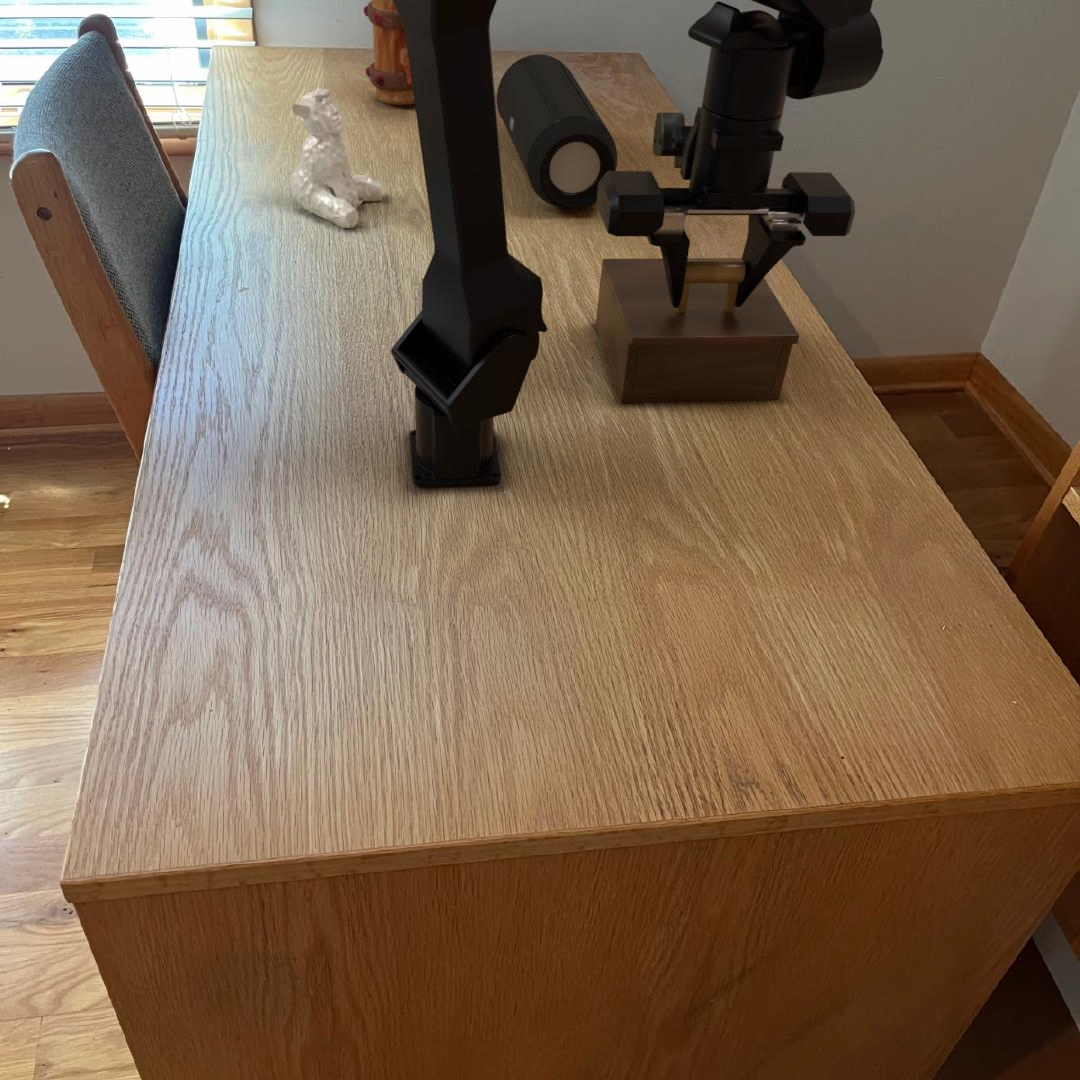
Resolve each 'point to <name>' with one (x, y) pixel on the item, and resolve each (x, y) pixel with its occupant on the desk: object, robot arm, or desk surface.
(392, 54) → the mug
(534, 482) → the desk surface
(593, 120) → the portable speaker
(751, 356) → the keepsake box
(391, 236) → the desk surface
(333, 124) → the white creature statuette
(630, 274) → the lid
